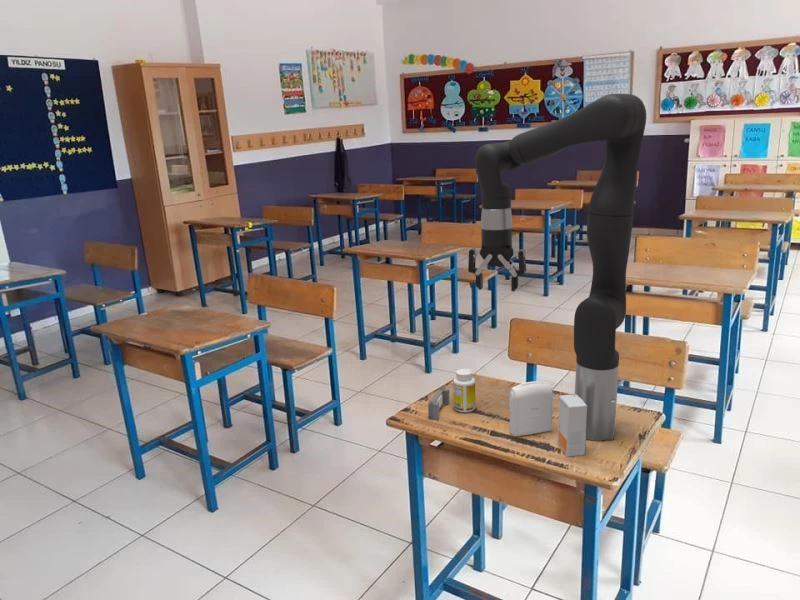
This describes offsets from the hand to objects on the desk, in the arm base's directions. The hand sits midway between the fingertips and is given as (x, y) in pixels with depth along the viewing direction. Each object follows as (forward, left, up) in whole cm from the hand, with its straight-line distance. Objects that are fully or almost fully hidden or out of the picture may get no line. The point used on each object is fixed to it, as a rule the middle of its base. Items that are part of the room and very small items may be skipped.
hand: (497, 289), depth 159 cm
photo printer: (-12, +16, -30) cm, 36 cm away
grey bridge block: (+13, +12, -30) cm, 34 cm away
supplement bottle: (+6, +9, -30) cm, 32 cm away
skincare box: (-22, +22, -30) cm, 43 cm away
